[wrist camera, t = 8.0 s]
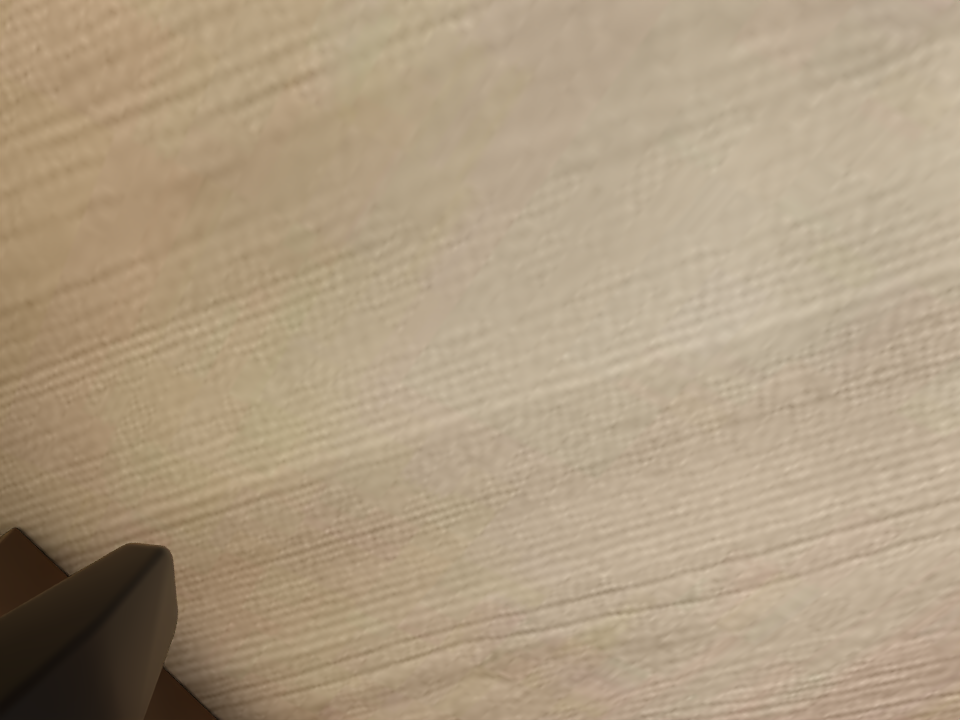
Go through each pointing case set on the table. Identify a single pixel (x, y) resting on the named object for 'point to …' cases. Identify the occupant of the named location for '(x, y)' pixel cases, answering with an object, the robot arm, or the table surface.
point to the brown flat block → (28, 572)
